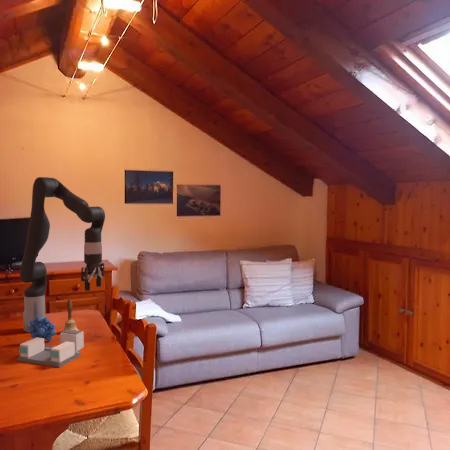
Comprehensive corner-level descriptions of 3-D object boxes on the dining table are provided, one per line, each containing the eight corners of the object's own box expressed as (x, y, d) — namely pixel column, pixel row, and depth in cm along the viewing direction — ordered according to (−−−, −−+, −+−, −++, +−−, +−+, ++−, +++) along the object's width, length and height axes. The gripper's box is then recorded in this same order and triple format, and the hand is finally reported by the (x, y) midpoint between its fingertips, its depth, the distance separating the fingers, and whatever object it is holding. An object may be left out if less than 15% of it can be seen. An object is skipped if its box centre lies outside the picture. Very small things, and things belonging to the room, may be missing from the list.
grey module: (60, 349, 189) (60, 332, 189) (68, 345, 194) (68, 328, 193) (76, 351, 187) (76, 334, 186) (83, 347, 191) (83, 330, 191)
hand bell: (75, 335, 208) (75, 301, 207) (58, 334, 208) (57, 301, 207) (81, 329, 216) (81, 297, 215) (65, 329, 216) (64, 297, 215)
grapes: (26, 346, 192) (25, 319, 191) (28, 341, 198) (28, 315, 197) (55, 344, 195) (54, 317, 194) (56, 339, 201) (55, 313, 201)
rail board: (17, 360, 175) (17, 344, 175) (40, 350, 188) (40, 335, 187) (59, 367, 169) (58, 350, 168) (80, 355, 181) (80, 340, 181)
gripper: (94, 249, 201) (95, 284, 202) (75, 253, 187) (75, 291, 188) (109, 250, 199) (109, 286, 200) (90, 254, 185) (91, 292, 186)
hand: (93, 288), depth 194 cm, fingers open, 8 cm apart
